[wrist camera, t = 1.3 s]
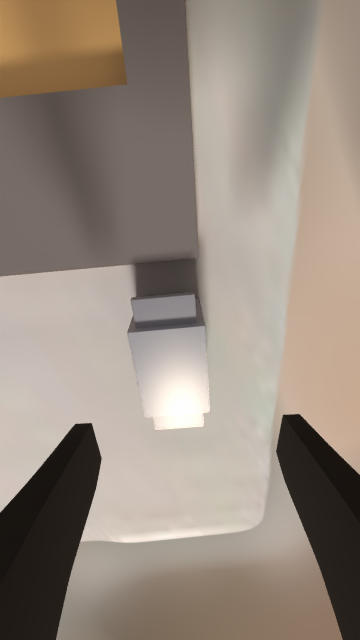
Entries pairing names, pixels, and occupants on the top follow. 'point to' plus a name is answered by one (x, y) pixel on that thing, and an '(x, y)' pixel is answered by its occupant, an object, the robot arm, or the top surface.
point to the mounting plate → (94, 135)
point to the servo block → (170, 359)
